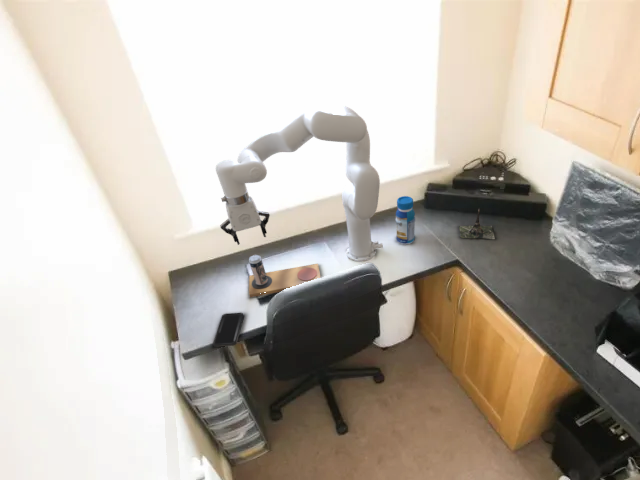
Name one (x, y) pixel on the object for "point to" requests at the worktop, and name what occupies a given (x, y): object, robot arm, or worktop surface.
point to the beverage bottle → (405, 220)
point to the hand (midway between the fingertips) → (251, 238)
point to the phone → (228, 329)
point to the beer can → (258, 269)
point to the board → (283, 279)
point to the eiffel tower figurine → (476, 230)
